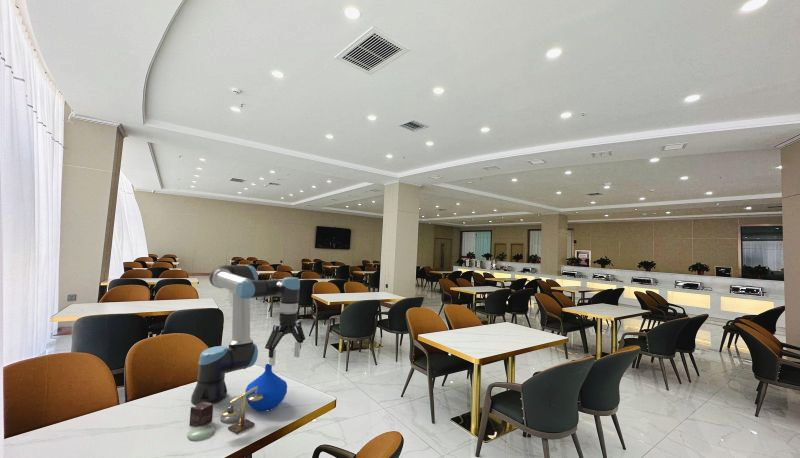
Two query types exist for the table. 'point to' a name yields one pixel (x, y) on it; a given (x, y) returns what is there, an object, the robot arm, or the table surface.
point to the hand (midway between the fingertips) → (284, 360)
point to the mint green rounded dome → (200, 432)
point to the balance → (232, 411)
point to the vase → (267, 390)
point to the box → (201, 414)
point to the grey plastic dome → (231, 418)
